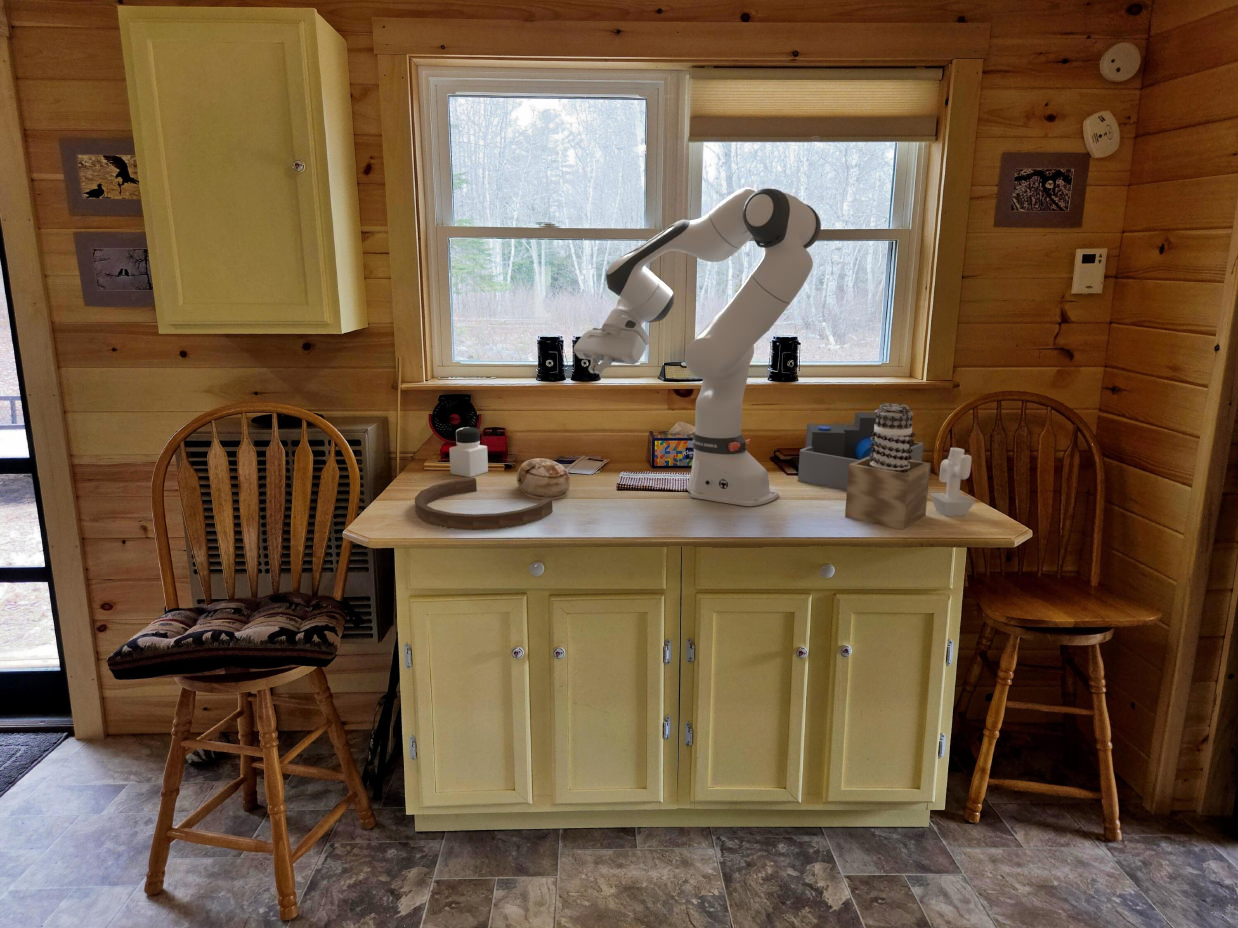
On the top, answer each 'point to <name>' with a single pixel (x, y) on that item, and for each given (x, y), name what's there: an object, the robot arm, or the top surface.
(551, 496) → the trinket box
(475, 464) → the medicine bottle
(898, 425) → the decorative candle
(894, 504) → the wooden box
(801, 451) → the tray
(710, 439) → the robot arm
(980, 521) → the top surface
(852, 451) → the camera
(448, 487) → the brown curved arc
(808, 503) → the top surface
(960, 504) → the figurine
